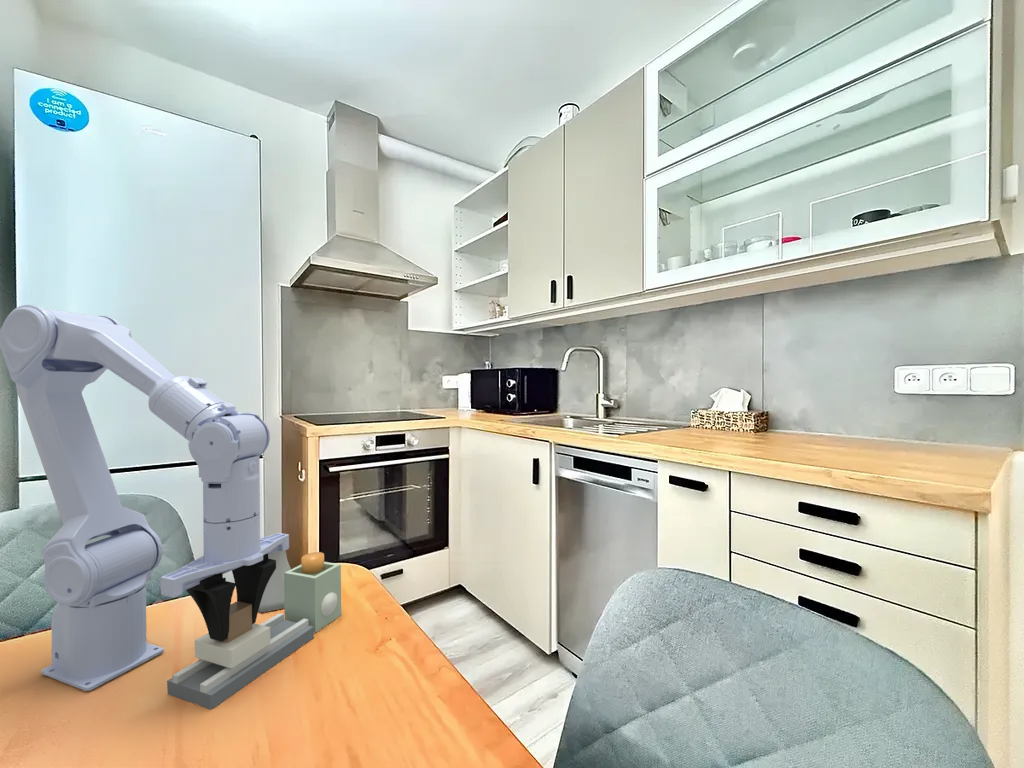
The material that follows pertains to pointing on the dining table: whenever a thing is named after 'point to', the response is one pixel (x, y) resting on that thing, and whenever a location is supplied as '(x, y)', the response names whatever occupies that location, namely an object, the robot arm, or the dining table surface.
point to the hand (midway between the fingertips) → (233, 630)
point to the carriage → (234, 639)
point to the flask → (275, 584)
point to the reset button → (313, 563)
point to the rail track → (238, 666)
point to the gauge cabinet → (313, 595)
